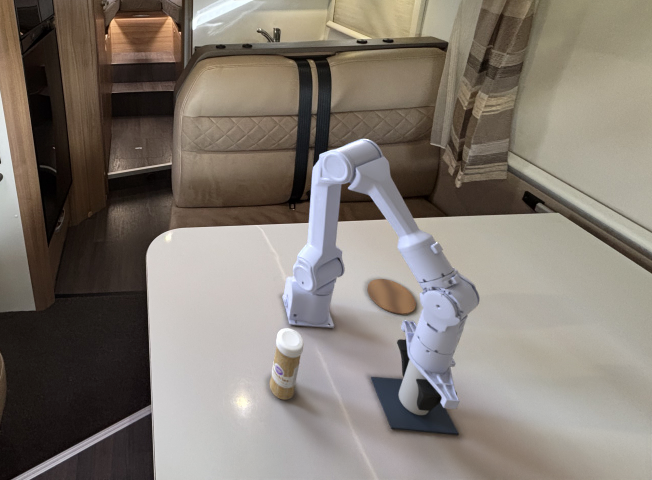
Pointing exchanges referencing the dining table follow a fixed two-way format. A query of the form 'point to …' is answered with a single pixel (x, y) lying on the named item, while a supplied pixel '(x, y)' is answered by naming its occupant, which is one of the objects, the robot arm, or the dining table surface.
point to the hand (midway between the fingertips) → (416, 392)
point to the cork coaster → (391, 296)
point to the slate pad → (404, 418)
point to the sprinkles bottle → (286, 363)
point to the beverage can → (411, 389)
